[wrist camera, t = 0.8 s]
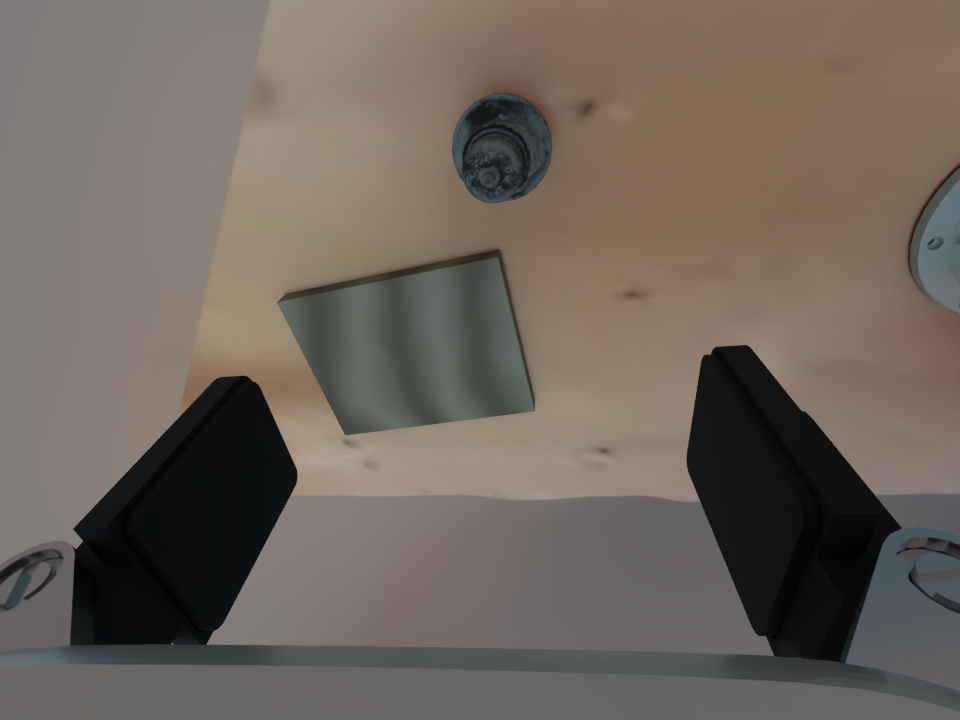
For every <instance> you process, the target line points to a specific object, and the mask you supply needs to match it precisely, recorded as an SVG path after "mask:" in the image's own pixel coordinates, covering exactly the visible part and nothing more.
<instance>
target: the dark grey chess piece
mask: <svg viewBox="0 0 960 720" xmlns="http://www.w3.org/2000/svg"><path fill="white" fill-rule="evenodd" d="M551 152H552V145H551V134H550V131H549V128H548V126H547V123H546V120H545V119H544V117H543V116H542V114H541V113H540V111H539V110H538V109H537V108H536V107H535V106H534V105H532V104H531V103H530V102H529V101H528V100H526V99H523V98H521V97H519V96H517V95H514V94H505V93H498V94H493V95H488V96H486V97H484V98H482V99H480V100H478V101H476V102H474V103H473V104H472V105H471V106H470V107H469V108H468V109H467V110H466V111H465V112H464V114H463V115H462V117H461V118H460V120H459V122H458V123H457V126H456V129H455V132H454V136H453V145H452V154H453V159H454V164H455V167H456V169H457V172H458V174H459V176H460V178H461V179H462V180H463V182H464V184H465V186H466V188H467V190H468V191H469V192H470V193H471V195H473V196H474V197H475V198H477V199H478V200H480V201H483V202H486V203H498V202H503V201H510V200H515V199H517V198H520V197H522V196H524V195H526V194H528V193H529V192H530V191H531V190H533V189H534V188H535V187H536V186H537V185H538V183H539V182H540V181H541V180H542V178H543V177H544V175H545V173H546V171H547V168H548V166H549V163H550V158H551Z"/></svg>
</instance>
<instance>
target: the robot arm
mask: <svg viewBox="0 0 960 720" xmlns="http://www.w3.org/2000/svg"><path fill="white" fill-rule="evenodd" d="M910 265H911V270H912V274H913V278H914V279H915V281H916V283H917V285H918V286H919V288H920V290H922V291H923V292H924V293H925V294H926V295H927V296H928V297H929V298H930V299H932V300H933V301H935V302H937V303H938V304H940V305H941V306H943V307H945V308H947V309H949V310H952V311H954V312H957V313H960V168H959V169H958V170H956V171H955V172H954V173H953V175H952V176H951V177H950V178H949V179H948V180H947V181H946V182H945V183H944V184H943V185H942V187H941V188H940V189H939V190H938V191H937V193H936V194H935V195H934V197H933V198H932V200H931V201H930V203H929V204H928V205H927V207H926V208H925V210H924V212H923V214H922V216H921V218H920V220H919V222H918V224H917V226H916V228H915V232H914V236H913V239H912V243H911V248H910ZM687 468H688V472H689V475H690V477H691V480H692V482H693V484H694V487H695V489H696V492H697V494H698V497H699V499H700V502H701V504H702V506H703V509H704V511H705V514H706V516H707V519H708V521H709V523H710V526H711V528H712V531H713V533H714V535H715V538H716V541H717V543H718V545H719V548H720V550H721V553H722V555H723V557H724V560H725V562H726V565H727V567H728V570H729V572H730V575H731V577H732V580H733V581H734V584H735V587H736V589H737V592H738V594H739V597H740V599H741V601H742V604H743V606H744V609H745V611H746V614H747V616H748V618H749V621H750V623H751V626H752V628H753V630H754V631H755V633H756V634H757V635H759V636H766V637H767V640H768V642H769V644H770V647H771V649H772V651H773V654H774V656H764V655H763V656H762V655H735V654H707V653H681V652H654V651H653V652H652V651H606V650H605V651H604V650H552V649H501V648H439V647H437V648H436V647H370V646H369V647H367V646H366V647H365V646H291V645H290V646H287V645H206V644H207V642H208V640H209V639H210V637H211V635H212V633H213V631H214V630H216V629H218V628H219V627H220V626H221V625H222V624H223V622H224V621H225V619H226V617H227V615H228V613H229V611H230V609H231V607H232V605H233V603H234V601H235V599H236V598H237V596H238V594H239V592H240V590H241V588H242V586H243V585H244V583H245V581H246V579H247V577H248V575H249V573H250V571H251V569H252V567H253V566H254V564H255V562H256V560H257V558H258V556H259V554H260V552H261V550H262V548H263V547H264V545H265V543H266V541H267V539H268V537H269V535H270V533H271V531H272V529H273V527H274V526H275V524H276V522H277V520H278V518H279V516H280V514H281V512H282V510H283V508H284V507H285V505H286V503H287V501H288V499H289V497H290V495H291V493H292V491H293V489H294V488H295V485H296V483H297V469H296V467H295V465H294V462H293V460H292V458H291V456H290V453H289V451H288V449H287V447H286V444H285V442H284V440H283V438H282V435H281V433H280V431H279V429H278V427H277V424H276V422H275V420H274V418H273V415H272V413H271V411H270V409H269V406H268V404H267V402H266V400H265V397H264V395H263V393H262V391H261V389H260V387H259V385H258V384H257V383H256V382H252V380H251V379H250V378H249V377H247V376H233V377H220V378H217V379H216V380H214V381H213V382H212V383H211V385H210V386H209V387H208V388H207V389H206V390H205V391H204V392H203V393H202V394H201V395H200V396H199V397H198V398H197V399H196V400H195V401H194V402H193V403H192V404H191V406H190V407H189V408H188V409H187V410H186V411H185V412H184V413H183V414H182V415H181V416H180V417H179V418H178V419H177V420H176V421H175V422H174V423H173V424H172V426H171V427H170V428H169V429H168V430H167V431H166V432H165V433H164V434H163V435H162V436H161V437H160V438H159V439H158V440H157V441H156V442H155V444H153V445H152V447H151V448H150V449H149V450H148V451H147V452H146V453H145V454H144V455H143V456H142V457H141V458H140V459H139V460H138V461H137V462H136V463H135V465H133V467H132V468H131V469H130V470H129V471H128V472H127V473H126V474H125V475H124V476H123V477H122V478H121V479H120V480H119V481H118V482H117V483H116V484H115V485H114V487H113V488H112V489H111V490H110V491H109V492H108V493H107V494H106V495H105V496H104V497H103V498H102V499H101V500H100V501H99V502H98V503H97V504H96V506H95V507H94V508H93V509H92V510H91V511H90V512H89V513H88V514H87V515H86V516H85V517H84V518H83V519H82V520H81V521H80V522H79V523H78V525H76V527H75V528H74V529H73V530H74V531H75V532H76V533H77V534H78V535H79V536H80V538H81V539H82V540H83V542H82V543H81V545H80V546H79V547H78V548H77V549H75V548H74V547H73V546H72V545H70V544H68V543H67V542H60V541H54V542H49V543H44V544H40V545H38V546H35V547H32V548H30V549H27V550H25V551H23V552H21V553H20V554H18V555H16V556H14V557H12V558H10V559H9V560H7V561H6V562H4V563H3V564H1V565H0V720H960V537H959V536H956V535H953V534H950V533H946V532H944V531H940V530H934V529H927V528H920V527H918V528H906V529H902V528H901V527H900V525H899V524H898V523H897V522H896V521H895V519H894V518H893V517H892V516H891V514H890V513H889V512H888V511H887V510H886V509H885V507H884V506H883V505H882V503H881V502H880V501H879V500H878V499H877V497H876V496H875V495H874V494H873V492H872V491H871V490H870V489H869V488H868V486H867V485H866V484H865V483H864V481H863V480H862V479H861V478H860V476H859V475H858V474H857V473H856V472H855V470H854V469H853V468H852V467H851V465H850V464H849V463H848V462H847V461H846V459H845V458H844V457H843V456H842V454H841V453H840V452H839V451H838V450H837V448H836V447H835V446H834V445H833V443H832V442H831V441H830V440H829V439H828V437H827V436H826V435H825V434H824V432H823V431H822V430H821V429H820V427H819V426H818V425H817V424H816V423H815V421H814V420H813V419H812V418H811V417H810V416H809V415H808V414H807V413H806V412H804V411H801V410H800V409H799V407H798V406H797V405H796V404H795V402H794V401H793V400H792V399H791V397H790V396H789V395H788V394H787V393H786V391H785V390H784V389H783V388H782V386H781V385H780V384H779V383H778V381H777V380H776V379H775V378H774V376H773V375H772V374H771V373H770V371H769V370H768V369H767V368H766V366H765V365H764V364H763V363H762V361H761V360H760V359H759V358H758V356H757V355H756V354H755V353H754V351H753V350H752V349H751V348H750V347H749V346H747V345H740V346H724V347H715V348H714V349H713V351H712V353H711V355H704V356H703V358H702V361H701V367H700V374H699V380H698V387H697V393H696V399H695V406H694V412H693V418H692V425H691V431H690V438H689V444H688V450H687ZM172 642H173V644H174V645H171V643H172Z"/></svg>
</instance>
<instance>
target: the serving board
mask: <svg viewBox="0 0 960 720" xmlns="http://www.w3.org/2000/svg"><path fill="white" fill-rule="evenodd" d="M277 303H278V305H279V307H280V309H281V311H282V313H283V315H284V317H285V319H286V321H287V323H288V325H289V326H290V328H291V330H292V332H293V334H294V336H295V338H296V340H297V342H298V344H299V346H300V348H301V350H302V352H303V354H304V356H305V358H306V360H307V362H308V364H309V366H310V367H311V369H312V371H313V373H314V375H315V377H316V379H317V381H318V383H319V385H320V387H321V389H322V391H323V393H324V395H325V397H326V399H327V401H328V403H329V405H330V407H331V408H332V410H333V412H334V414H335V416H336V418H337V420H338V422H339V424H340V426H341V428H342V430H343V432H344V434H345V435H352V434H359V433H367V432H375V431H383V430H391V429H399V428H406V427H414V426H422V425H430V424H438V423H446V422H454V421H461V420H469V419H477V418H485V417H493V416H501V415H508V414H516V413H524V412H532V411H535V399H534V395H533V391H532V387H531V382H530V378H529V374H528V370H527V365H526V361H525V357H524V353H523V348H522V344H521V340H520V336H519V331H518V327H517V323H516V319H515V314H514V310H513V306H512V302H511V297H510V293H509V289H508V285H507V280H506V276H505V272H504V268H503V263H502V259H501V255H500V251H499V250H497V251H492V252H487V253H483V254H478V255H473V256H468V257H463V258H459V259H454V260H449V261H444V262H439V263H434V264H430V265H425V266H420V267H415V268H410V269H406V270H401V271H396V272H391V273H386V274H381V275H377V276H372V277H367V278H362V279H357V280H353V281H348V282H343V283H338V284H333V285H328V286H324V287H319V288H314V289H309V290H304V291H300V292H295V293H290V294H286V295H284V296H283V297H282V298H281V299H280V300H279V301H278V302H277Z"/></svg>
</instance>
